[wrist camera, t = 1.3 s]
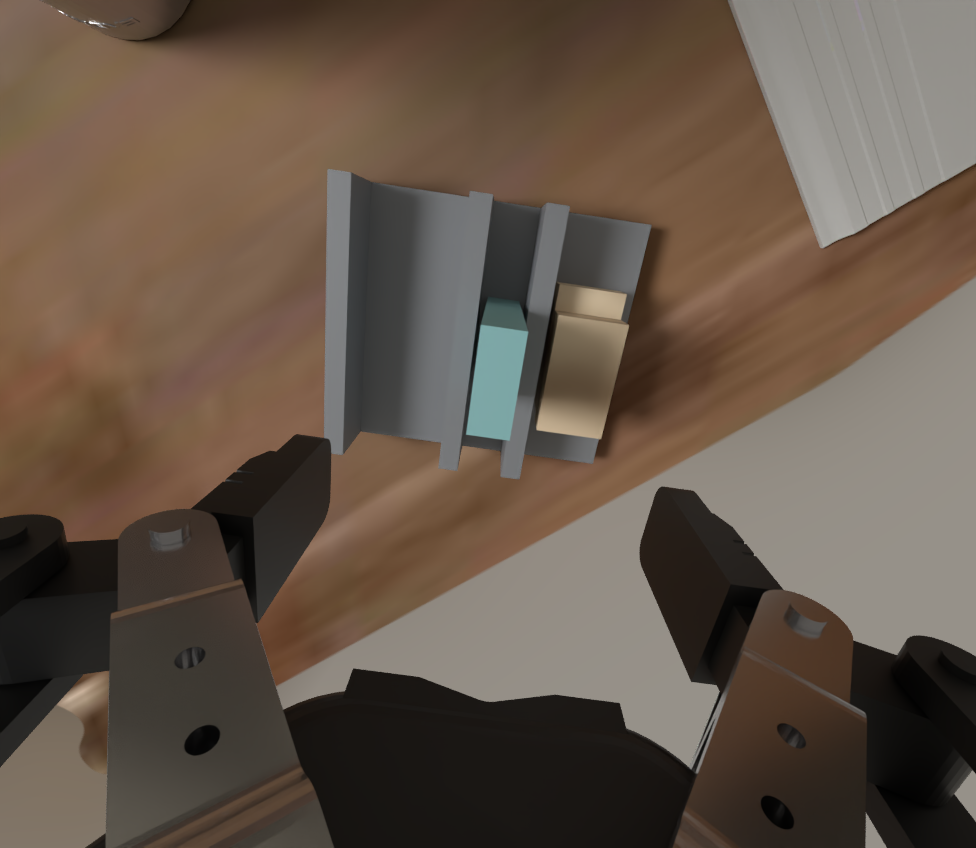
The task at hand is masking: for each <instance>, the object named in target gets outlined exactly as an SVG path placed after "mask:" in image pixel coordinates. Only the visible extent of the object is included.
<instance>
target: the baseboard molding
mask: <svg viewBox="0 0 976 848" xmlns="http://www.w3.org/2000/svg"><path fill="white" fill-rule="evenodd" d="M728 3H729V6H730V8H731V11H732V14H733V16H734V19H735V22H736V24H737V27H738V30H739V32H740V35H741V38H742V40H743V43H744V46H745V48H746V51H747V54H748V56H749V59H750V62H751V64H752V67H753V70H754V72H755V75H756V78H757V80H758V83H759V86H760V88H761V91H762V94H763V96H764V99H765V102H766V104H767V107H768V110H769V112H770V115H771V118H772V120H773V123H774V126H775V128H776V131H777V134H778V136H779V139H780V142H781V144H782V147H783V150H784V152H785V155H786V158H787V160H788V163H789V166H790V168H791V171H792V174H793V176H794V179H795V182H796V184H797V187H798V190H799V192H800V195H801V198H802V200H803V203H804V206H805V208H806V211H807V214H808V216H809V219H810V222H811V224H812V227H813V230H814V232H815V235H816V238H817V240H818V243H819V246H820V248H825V247H826V246H828V245H830V244H831V243H833V242H835V241H837V240H839V239H841V238H844V237H846V236H849V235H852V234H855V233H857V232H858V231H860V230H862V229H863V228H865V227H867V226H868V225H869V224H871V223H873V222H875V221H876V220H878V219H880V218H881V217H883V216H885V215H888V214H889V213H891V212H893V211H894V210H895V209H897V208H899V207H900V206H902V205H904V204H905V203H907V202H909V201H911V200H912V199H915V198H917V197H919V196H920V195H922V194H924V193H925V192H926V191H928V190H930V189H931V188H933V187H935V186H936V185H938V184H940V183H942V182H944V181H946V180H948V179H949V178H951V177H953V176H955V175H956V174H958V173H960V172H962V171H963V170H965V169H967V168H968V167H970V166H972V165H974V164H975V163H976V0H728Z"/></svg>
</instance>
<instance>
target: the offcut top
mask: <svg viewBox="0 0 976 848" xmlns="http://www.w3.org/2000/svg"><path fill="white" fill-rule="evenodd" d="M628 329H629V325H628V324H626V323H625V322H623V321H622V320H618V319H611V318H604V317H598V316H591V315H584V314H577V313H570V312H564V311H557V310H555V313H554V318H553V324H552V329H551V334H550V340H549V345H548V350H547V356H546V361H545V366H544V371H543V377H542V382H541V387H540V393H539V398H538V403H537V409H536V414H535V424H536V429H537V430H539V431H546V432H553V433H560V434H567V435H575V436H582V437H589V438H596V439H601V437H602V433H603V429H604V425H605V421H606V417H607V413H608V409H609V405H610V401H611V397H612V393H613V389H614V385H615V381H616V377H617V373H618V369H619V365H620V361H621V357H622V353H623V349H624V345H625V341H626V337H627V333H628Z"/></svg>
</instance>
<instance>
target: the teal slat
mask: <svg viewBox="0 0 976 848" xmlns="http://www.w3.org/2000/svg"><path fill="white" fill-rule="evenodd" d="M527 336H528V329H527V326H526V322H525V319H524V316H523V312H522V309H521V306H520V302H519V301H514V300H507V299H501V298H494V297H488V299H487V303H486V307H485V310H484V314H483V318H482V322H481V327H480V334H479V342H478V349H477V357H476V364H475V372H474V379H473V387H472V394H471V402H470V409H469V417H468V424H467V432H466V435H472V436H480V437H487V438H494V439H501V440H508V441H510V436H511V430H512V424H513V418H514V412H515V406H516V401H517V395H518V389H519V383H520V377H521V371H522V365H523V360H524V354H525V348H526V342H527Z"/></svg>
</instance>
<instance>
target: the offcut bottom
mask: <svg viewBox="0 0 976 848" xmlns="http://www.w3.org/2000/svg"><path fill="white" fill-rule="evenodd" d="M626 296H627V294H625V293H622V292H620V291H615V290H608V289H601V288H595V287H588V286H581V285H575V284H568V283H561V282H556V286H555V291H554V297H553V302H552V307H551V313H550V318H549V323H548V329H547V334H546V340H545V345H544V350H543V356H542V361H541V367H540V372H539V377H538V383H537V388H536V393H535V399H534V405H535V409H537V403H538V398H539V393H540V387H541V382H542V377H543V371H544V366H545V361H546V356H547V350H548V345H549V340H550V334H551V329H552V324H553V318H554V313H555V310H557V311H564V312H570V313H577V314H584V315H591V316H598V317H604V318H611V319H618V320H621V317H622V313H623V309H624V305H625V301H626Z"/></svg>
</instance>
